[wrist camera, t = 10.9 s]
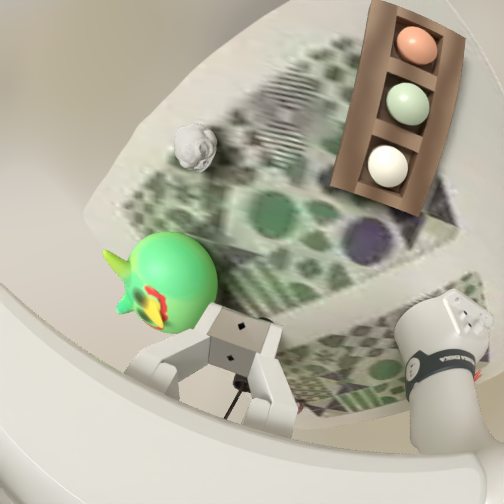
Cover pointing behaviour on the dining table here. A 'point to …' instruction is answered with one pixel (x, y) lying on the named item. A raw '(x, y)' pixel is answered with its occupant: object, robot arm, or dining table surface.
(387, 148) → the cream button
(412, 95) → the sage button
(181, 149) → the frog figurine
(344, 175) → the button panel
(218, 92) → the dining table surface
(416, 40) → the terracotta button
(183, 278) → the toy bird
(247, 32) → the dining table surface
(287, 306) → the dining table surface
